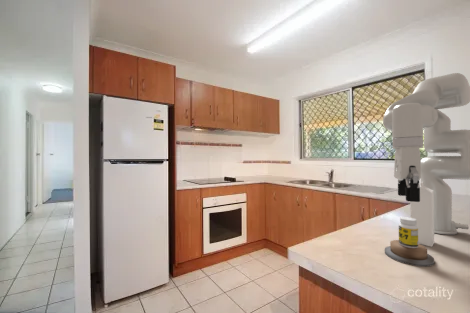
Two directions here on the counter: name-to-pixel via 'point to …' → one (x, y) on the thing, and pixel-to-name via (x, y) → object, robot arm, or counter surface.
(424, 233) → the milk
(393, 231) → the counter surface
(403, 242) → the supplement bottle
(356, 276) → the counter surface
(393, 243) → the round stand
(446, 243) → the counter surface
